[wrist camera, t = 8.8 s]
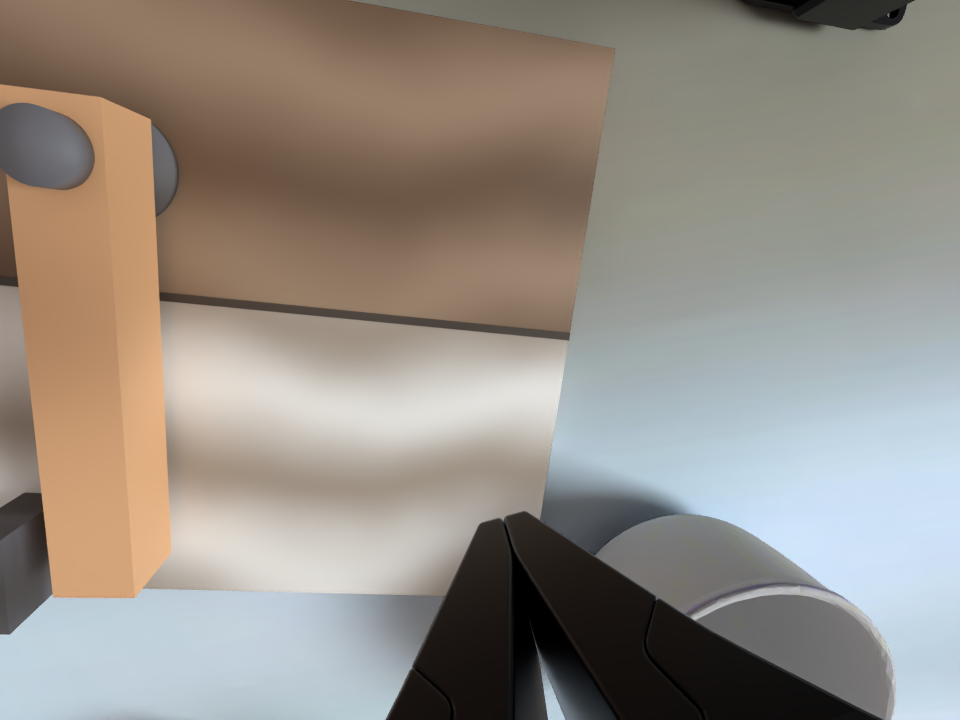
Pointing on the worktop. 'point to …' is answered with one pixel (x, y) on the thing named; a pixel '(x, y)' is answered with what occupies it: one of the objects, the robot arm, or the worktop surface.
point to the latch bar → (90, 333)
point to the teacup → (759, 603)
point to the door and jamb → (327, 279)
